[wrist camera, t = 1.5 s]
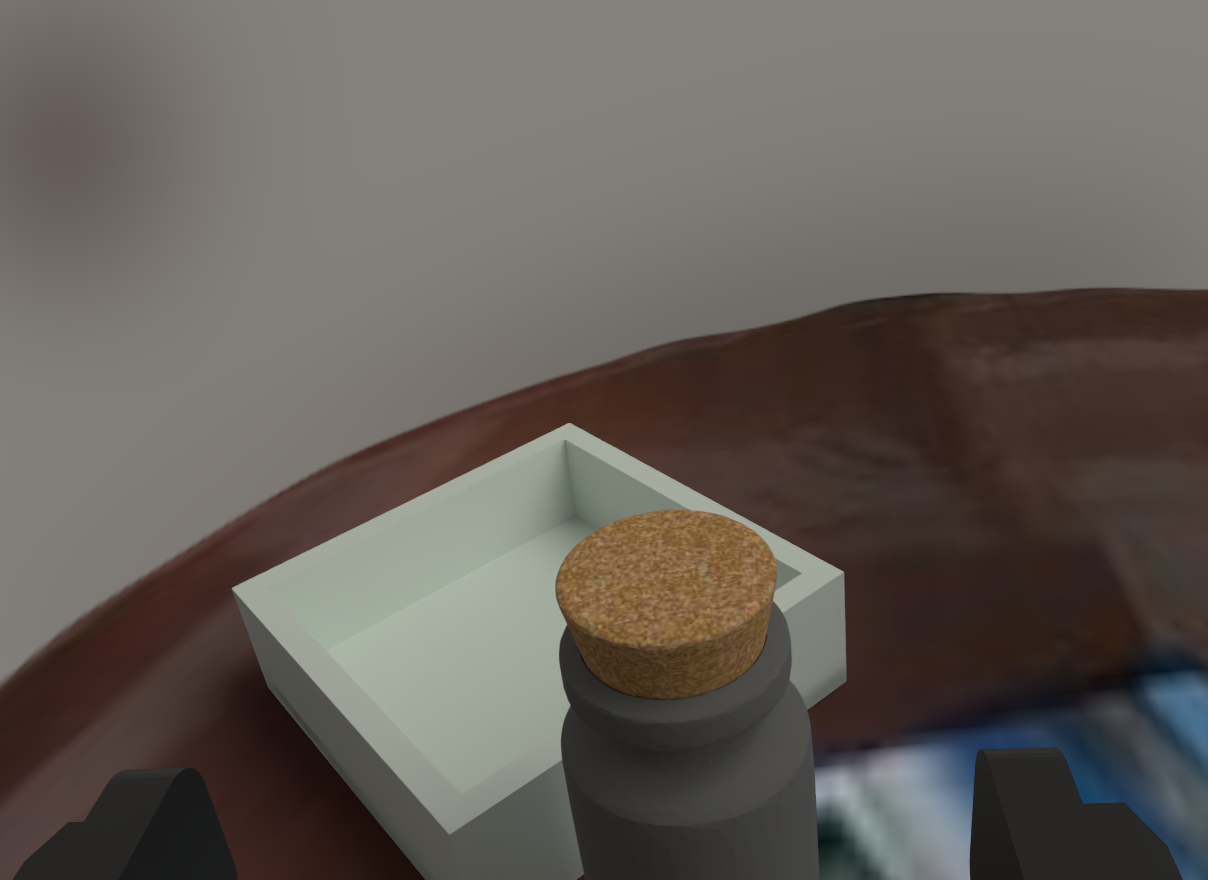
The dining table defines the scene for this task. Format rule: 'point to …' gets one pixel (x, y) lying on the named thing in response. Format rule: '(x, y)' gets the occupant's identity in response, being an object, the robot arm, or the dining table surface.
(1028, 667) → the dining table surface
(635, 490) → the bin
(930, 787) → the dining table surface
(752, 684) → the bottle
